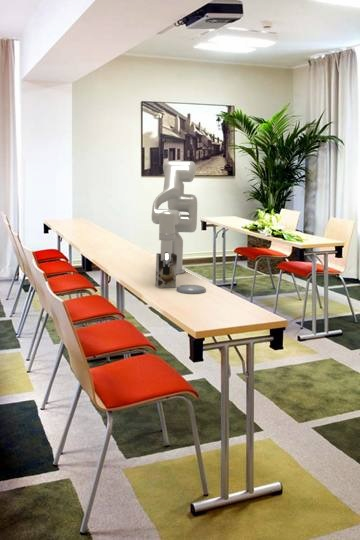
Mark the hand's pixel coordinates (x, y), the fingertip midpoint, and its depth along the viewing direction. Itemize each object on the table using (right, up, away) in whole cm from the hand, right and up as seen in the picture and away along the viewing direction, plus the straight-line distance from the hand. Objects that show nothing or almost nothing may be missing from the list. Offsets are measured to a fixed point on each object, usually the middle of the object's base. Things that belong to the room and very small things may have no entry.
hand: (166, 272), depth 300 cm
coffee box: (0, -7, +1) cm, 7 cm away
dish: (+12, -8, -6) cm, 16 cm away
